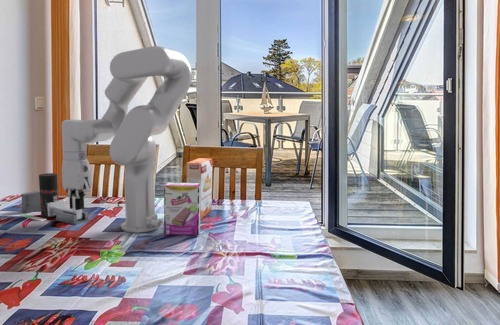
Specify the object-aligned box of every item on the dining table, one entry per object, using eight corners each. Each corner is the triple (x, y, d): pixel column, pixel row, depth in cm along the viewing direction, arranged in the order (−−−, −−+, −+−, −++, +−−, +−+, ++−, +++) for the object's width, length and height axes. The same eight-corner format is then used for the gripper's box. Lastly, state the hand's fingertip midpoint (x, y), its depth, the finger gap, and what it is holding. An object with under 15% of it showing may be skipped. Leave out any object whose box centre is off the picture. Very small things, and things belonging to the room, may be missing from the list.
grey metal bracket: (90, 220, 147) (90, 212, 146) (75, 224, 141) (75, 216, 141) (71, 216, 151) (71, 208, 151) (55, 220, 146) (55, 212, 145)
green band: (62, 210, 158) (62, 210, 158) (30, 218, 147) (30, 218, 147) (52, 208, 161) (52, 207, 161) (20, 216, 150) (20, 215, 150)
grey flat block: (41, 209, 159) (40, 191, 158) (26, 213, 154) (25, 194, 153) (37, 208, 160) (36, 191, 159) (22, 212, 155) (21, 193, 154)
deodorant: (54, 217, 149) (52, 176, 147) (37, 217, 149) (35, 175, 147) (62, 213, 155) (60, 173, 153) (46, 212, 155) (44, 173, 153)
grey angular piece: (86, 217, 147) (85, 192, 146) (72, 221, 142) (71, 195, 141) (62, 212, 153) (61, 188, 152) (47, 216, 148) (46, 191, 147)
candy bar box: (163, 236, 131) (163, 185, 129) (166, 231, 136) (165, 182, 134) (199, 236, 132) (199, 185, 129) (200, 231, 137) (200, 182, 134)
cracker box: (201, 221, 149) (201, 163, 146) (185, 219, 150) (185, 162, 147) (212, 211, 162) (213, 158, 159) (197, 210, 163) (198, 157, 160)
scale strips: (73, 212, 156) (73, 212, 156) (41, 221, 144) (41, 220, 144) (62, 210, 158) (62, 210, 158) (30, 218, 147) (30, 218, 147)
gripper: (100, 156, 142) (101, 209, 144) (68, 153, 149) (70, 203, 152) (82, 159, 135) (84, 214, 138) (49, 155, 142) (52, 207, 145)
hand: (77, 208), depth 145 cm, fingers closed on grey angular piece, 2 cm apart
